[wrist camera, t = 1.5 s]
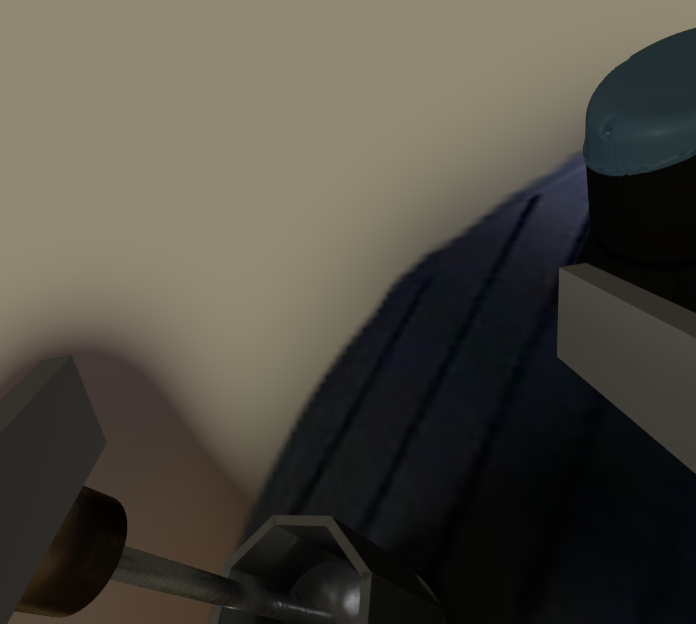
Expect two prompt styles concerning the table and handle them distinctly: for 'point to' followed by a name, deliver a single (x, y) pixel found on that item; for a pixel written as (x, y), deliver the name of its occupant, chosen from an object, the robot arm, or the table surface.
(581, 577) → the table surface
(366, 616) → the press pot
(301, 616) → the plunger
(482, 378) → the table surface
